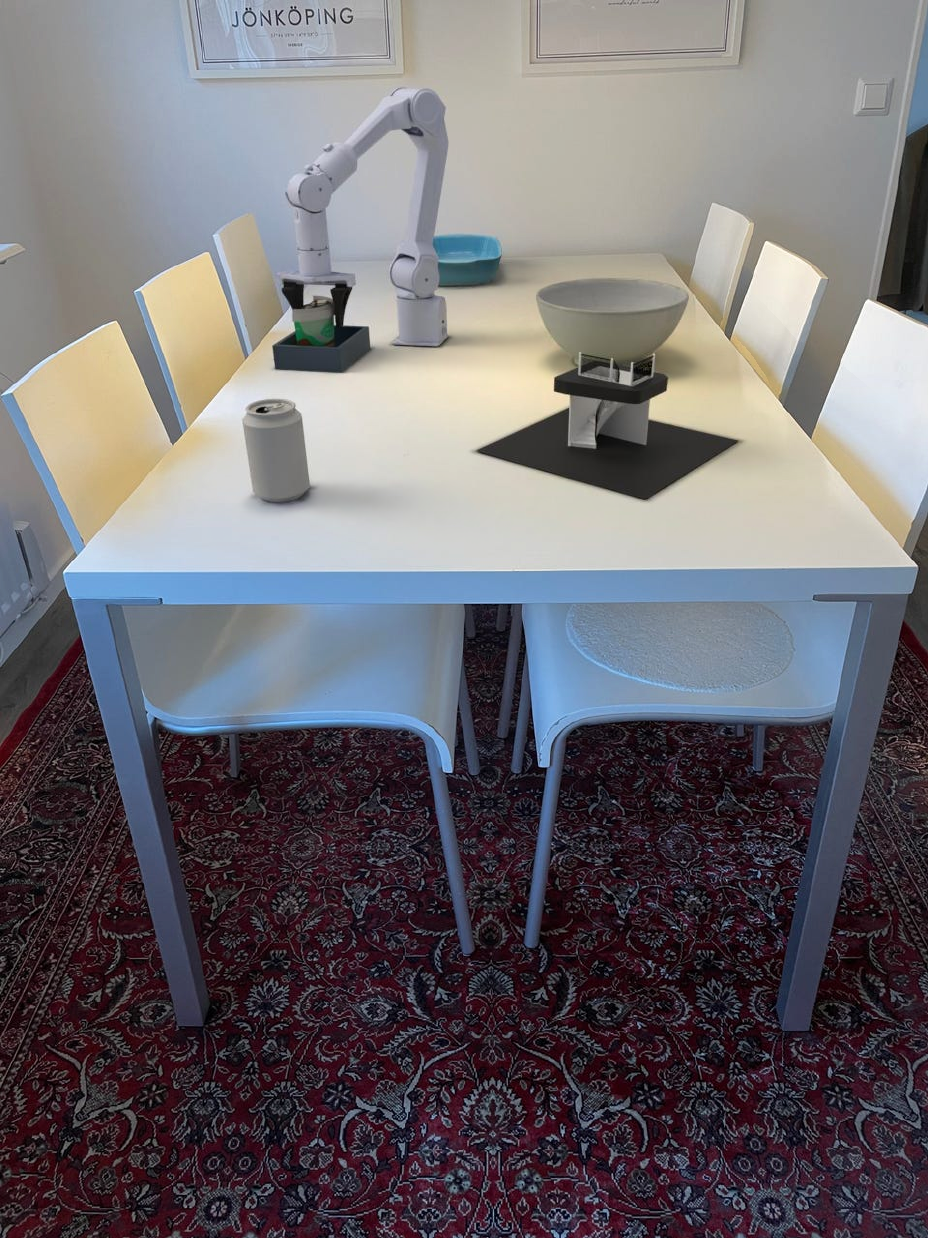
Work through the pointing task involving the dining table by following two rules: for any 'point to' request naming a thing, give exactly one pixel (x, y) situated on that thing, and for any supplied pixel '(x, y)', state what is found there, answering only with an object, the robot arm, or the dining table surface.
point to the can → (276, 450)
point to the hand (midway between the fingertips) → (320, 325)
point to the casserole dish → (467, 259)
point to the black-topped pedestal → (610, 432)
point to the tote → (323, 351)
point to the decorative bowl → (611, 316)
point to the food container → (315, 323)
